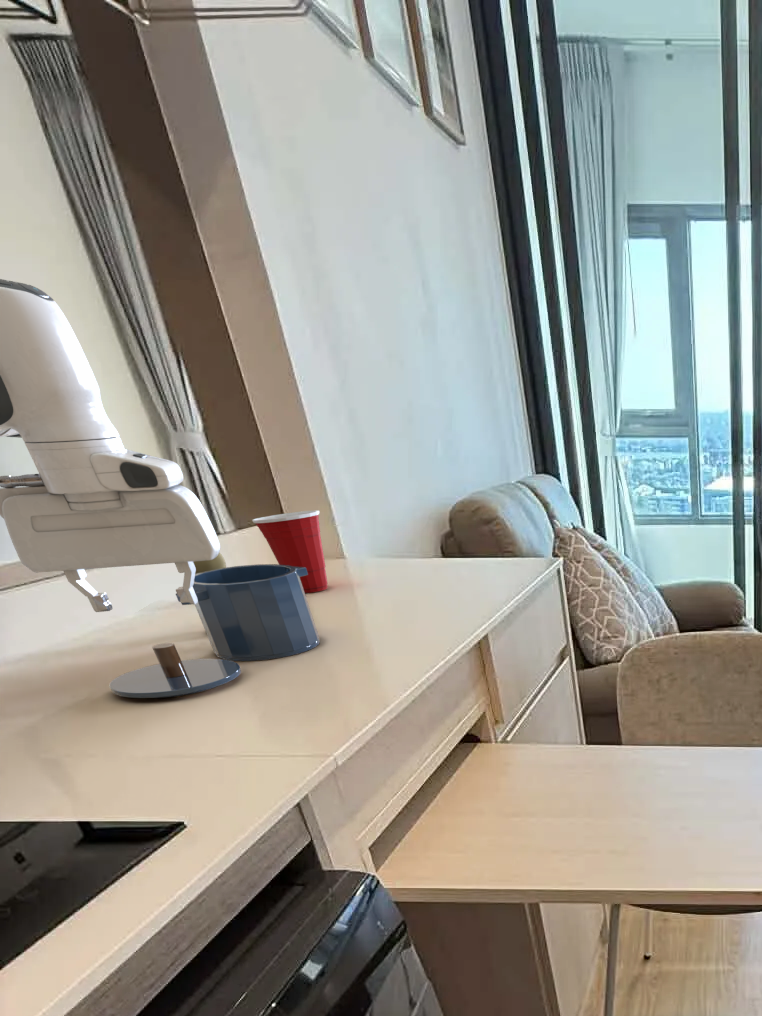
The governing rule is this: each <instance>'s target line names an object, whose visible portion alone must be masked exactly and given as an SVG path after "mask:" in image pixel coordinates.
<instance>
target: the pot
mask: <svg viewBox="0 0 762 1016" xmlns="http://www.w3.org/2000/svg"><path fill="white" fill-rule="evenodd" d="M306 575H308V573H307V570H306V567H296V566H293V567H292V566H290V565H279V563H277V564H276V563H275V564H273V563H272V564H271V563H269V564H268V563H267V564H263V563H262V564H259V563H258V564H247V565H237V566H236V565H235V566H226V568H220V569H214V570H209V571H205V572H200V573H197V574H195V578H194V584H193V589H194V591H195V594H196V596H197V599H198V603H197V604H194V606H195V609H196V611H197V614H198V616H199V619H200V621H201V624H202V626H203V629H204V631H205V633H206V636H207V638H208V641H209V643H210V646H211V649H212V652H214V653H215V655H216V657H217V658H218V659H223V660H229V661H233V662H254V661H255V662H256V661H268V660H274V659H280V658H285V657H291V656H295V655H299V654H302V653H305V652H308V651H310V650H313V649H314V648H316V647H317V646H318V645H319V644H320V642H321V641H320V635H319V632H318V629H317V626H316V623H315V619H314V618H313V614H312V611H311V608H310V605H309V602H308V599H307V596H306V593H305V592H304V589H303V586H302V583H301V580H300V577H301V576H306ZM175 596H176V598H177V599H176V600H177V601H178V602H179V603H181V602H180V597H179V596H178V595H177V592H176V593H175Z"/></svg>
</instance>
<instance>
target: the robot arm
mask: <svg viewBox="0 0 762 1016" xmlns="http://www.w3.org/2000/svg"><path fill="white" fill-rule="evenodd" d="M3 437H4V438H5V437H6V438H21V439H22V441H23V442H24V445H25V447H26V449H27V451H28V453H29V456H30V457H31V460H32V461H33V464H34V466H35V468H36V471H37V473H30V474H21V475H0V517H1V518H2V519H3V520H4V524H5V526H6V529H7V532H8V535H9V537H10V540H11V543H12V545H13V547H14V550H15V552H16V554H17V556H18V558H19V560H20V562H21V564H22V565H23V566H25V567H27V569H29V570H30V571H32V572H33V573H35V574H36V573H37V574H38V573H51V572H52V573H53V572H63V573H64V575H65V578H66V580H67V582H69V584H70V585H72V586H73V587H74V588H75V589H76V590H78V591H79V592H80V593H81V594H82V595H84V596H85V597H87V599H88V601H89V603H90V606H91V607H92V609H93V611H94V612H95V613H103V612H110V611H111V610H113V605H112V602H110V601H109V596H108V593H107V592H98V591H97V590H96V589H95V588H94V587H93V586H92V585H91V584H90V583H89V582H88V581H87V580H86V578H87V577H88V573H87V572H86V570H93V569H106V568H120V567H121V568H122V567H134V566H135V567H136V566H148V565H162V564H174V565H175V567H176V570H177V572H178V573H179V574H184V575H183V582H182V586H178V587H177V588H176V589H175V592H176V593H177V595H178V596H179V597H180V602H179V603H180V604H181V605H182V606H189V605H195V604H197V603H198V599H197V596H196V594H195V591H194V589H193V584H194V578H195V572H196V568H195V565H194V563H193V561H206V560H212V559H214V558H216V557H217V556H218V554H219V553H220V550H221V543H220V540H219V538H218V535H217V533H216V530H215V528H214V526H213V524H212V522H211V520H210V518H209V516H208V514H207V512H206V509H205V508H204V505H203V504H202V502H201V501H200V499H199V498H198V497H197V495H196V494H195V493H194V492H193V491H192V490H191V489H189V488H188V487H186V486H183V485H182V484H181V483H183V481H184V475H183V472H182V470H181V467H180V466H179V464H178V463H177V462H175V461H173V460H170V459H166V458H162V457H159V456H153V455H150V454H146V453H142V452H138V451H135V450H132V449H127V448H126V447H125V446H124V444H123V441H122V438H121V437H120V433H119V432H118V430H117V428H116V427H115V426H114V424H113V423H112V422H111V420H110V418H109V416H108V414H107V413H106V410H105V408H104V405H103V402H102V396H101V389H100V386H99V383H98V381H97V378H96V376H95V374H94V372H93V369H92V367H91V365H90V362H89V361H88V358H87V356H86V354H85V352H84V350H83V348H82V345H81V343H80V342H79V339H78V338H77V335H76V333H75V331H74V329H73V328H72V326H71V324H70V322H69V320H68V318H67V317H66V315H65V313H64V312H63V310H62V309H61V307H60V305H59V304H58V303H57V302H56V301H55V300H54V299H53V298H52V296H50V295H48V294H47V292H45V291H43V290H42V289H40V288H38V287H36V286H34V285H31V284H27V283H23V282H18V281H13V280H7V279H2V278H0V438H3Z"/></svg>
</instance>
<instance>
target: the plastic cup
mask: <svg viewBox="0 0 762 1016" xmlns="http://www.w3.org/2000/svg"><path fill="white" fill-rule="evenodd" d="M319 515H320V510H318V509H317V510H316V509H315V510H303V511H295V512H287V513H281V514H273V515H267V516H262V517H257V518H253V519H251V521H252V523H253V524H255V525H256V526H257V528H258V529H259V530H260V532H261V533H262V535H263V537H264V539H265V540H266V542H267V544H268V546H269V548H270V550H271V552H272V554H273V556H274V558H275V559H276V562H277V564H278V565H290V566H292V567H293V566H296V567H306V570H307V573H308V575H306V576H301V577H300V580H301V583H302V586H303V589H304V592H305V594H308V593H310V594H311V593H317V592H322V591H325V590H327V589H328V578H327V572H326V562H325V555H324V549H323V542H322V538H321V528H320V519H319V517H320V516H319Z"/></svg>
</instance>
